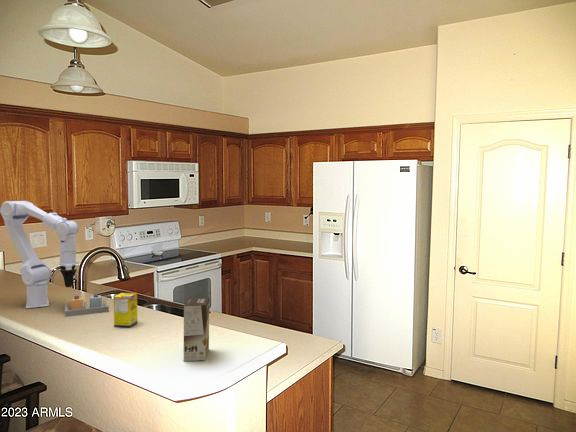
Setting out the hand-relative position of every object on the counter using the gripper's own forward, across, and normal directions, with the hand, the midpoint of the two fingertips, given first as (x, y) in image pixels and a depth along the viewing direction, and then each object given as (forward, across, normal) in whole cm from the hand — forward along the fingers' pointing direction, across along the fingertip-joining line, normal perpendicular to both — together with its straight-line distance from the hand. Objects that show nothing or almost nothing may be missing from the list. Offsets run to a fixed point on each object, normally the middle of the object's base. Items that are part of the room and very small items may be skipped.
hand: (68, 285), depth 168 cm
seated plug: (+10, -6, -10) cm, 15 cm away
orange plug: (+10, -6, -3) cm, 12 cm away
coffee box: (+10, -70, -31) cm, 77 cm away
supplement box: (+10, -32, -17) cm, 37 cm away
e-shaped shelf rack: (+9, -6, -6) cm, 13 cm away
